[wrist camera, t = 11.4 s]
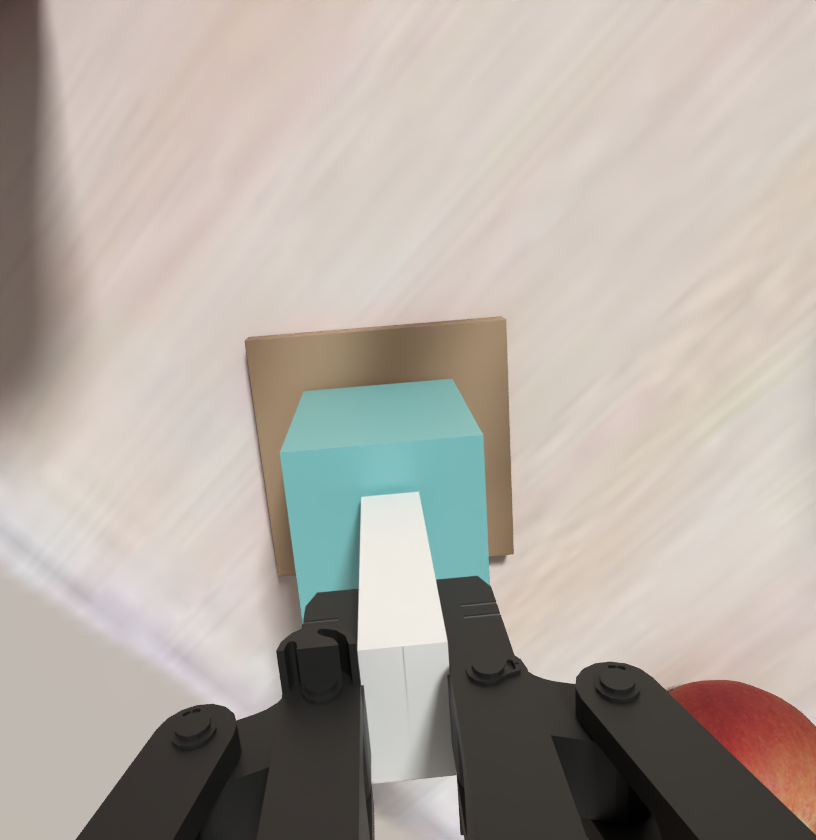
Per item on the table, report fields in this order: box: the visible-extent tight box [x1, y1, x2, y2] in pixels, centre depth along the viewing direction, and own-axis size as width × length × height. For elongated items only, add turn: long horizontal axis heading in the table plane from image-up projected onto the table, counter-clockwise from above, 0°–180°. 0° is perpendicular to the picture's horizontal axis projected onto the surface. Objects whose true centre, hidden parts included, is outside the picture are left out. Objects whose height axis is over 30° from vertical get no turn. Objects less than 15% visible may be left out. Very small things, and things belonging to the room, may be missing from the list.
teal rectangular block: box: [280, 379, 490, 623], centre depth 21 cm, size 5×5×7 cm
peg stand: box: [245, 317, 514, 576], centre depth 22 cm, size 9×9×7 cm
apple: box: [668, 680, 816, 835], centre depth 26 cm, size 8×8×8 cm
